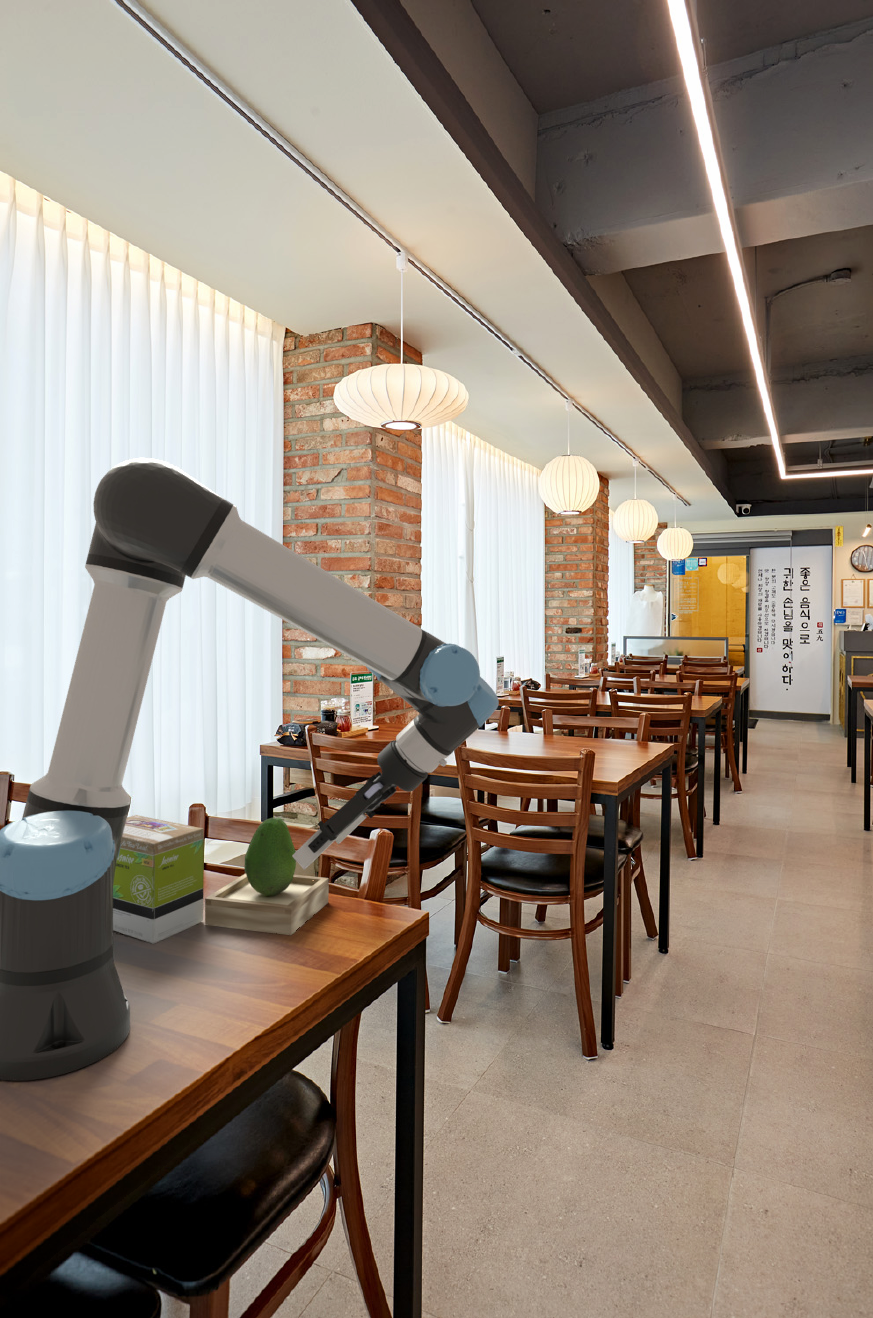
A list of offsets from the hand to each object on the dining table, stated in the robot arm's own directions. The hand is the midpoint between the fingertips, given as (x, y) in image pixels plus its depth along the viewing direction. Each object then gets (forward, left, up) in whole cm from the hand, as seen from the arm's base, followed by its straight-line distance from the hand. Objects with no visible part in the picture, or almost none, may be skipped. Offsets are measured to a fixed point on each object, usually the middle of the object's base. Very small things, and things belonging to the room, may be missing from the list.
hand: (317, 849), depth 117 cm
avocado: (0, +8, -8) cm, 11 cm away
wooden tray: (0, +8, -11) cm, 13 cm away
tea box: (-9, +24, -11) cm, 28 cm away
